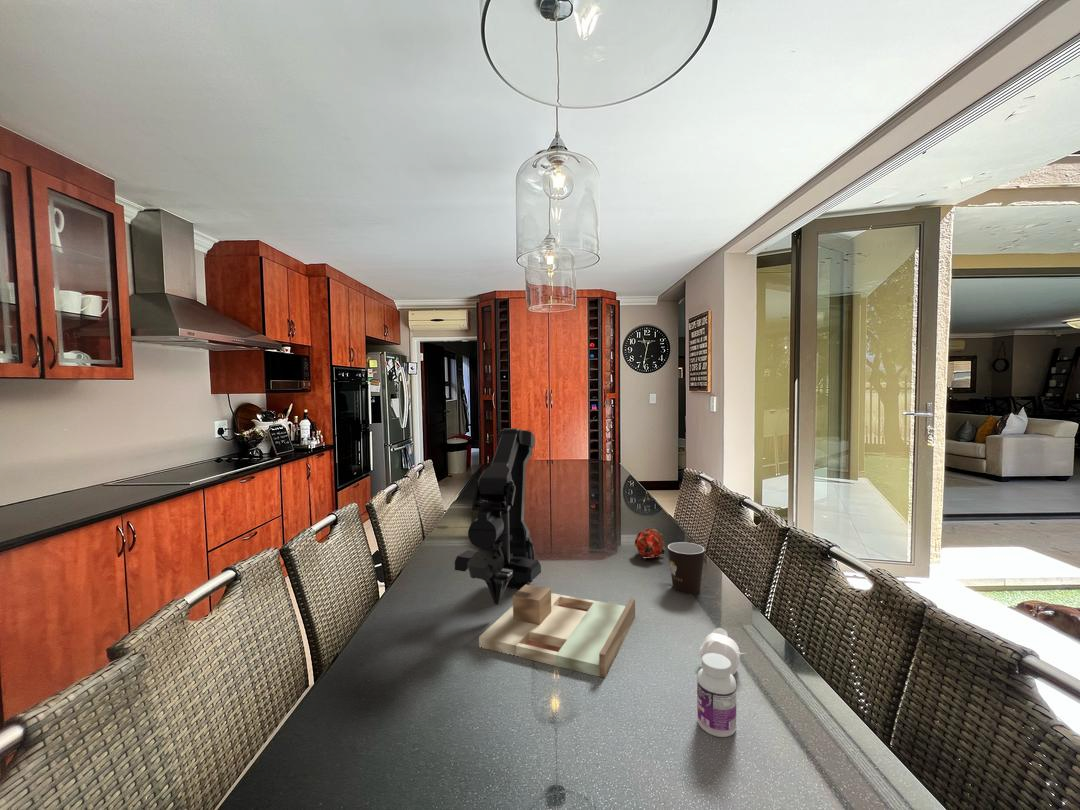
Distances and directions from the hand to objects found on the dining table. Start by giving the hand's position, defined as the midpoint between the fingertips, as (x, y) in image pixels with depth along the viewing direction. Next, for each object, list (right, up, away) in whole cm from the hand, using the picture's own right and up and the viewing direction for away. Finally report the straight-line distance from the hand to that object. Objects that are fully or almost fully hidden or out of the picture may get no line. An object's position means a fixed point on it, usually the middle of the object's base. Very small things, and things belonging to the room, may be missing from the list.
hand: (497, 604), depth 101 cm
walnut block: (+8, -1, -3) cm, 8 cm away
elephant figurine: (+41, -3, -19) cm, 46 cm away
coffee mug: (+45, -2, +15) cm, 48 cm away
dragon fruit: (+41, -2, +35) cm, 54 cm away
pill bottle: (+35, -4, -33) cm, 48 cm away
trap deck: (+13, -3, -6) cm, 15 cm away
